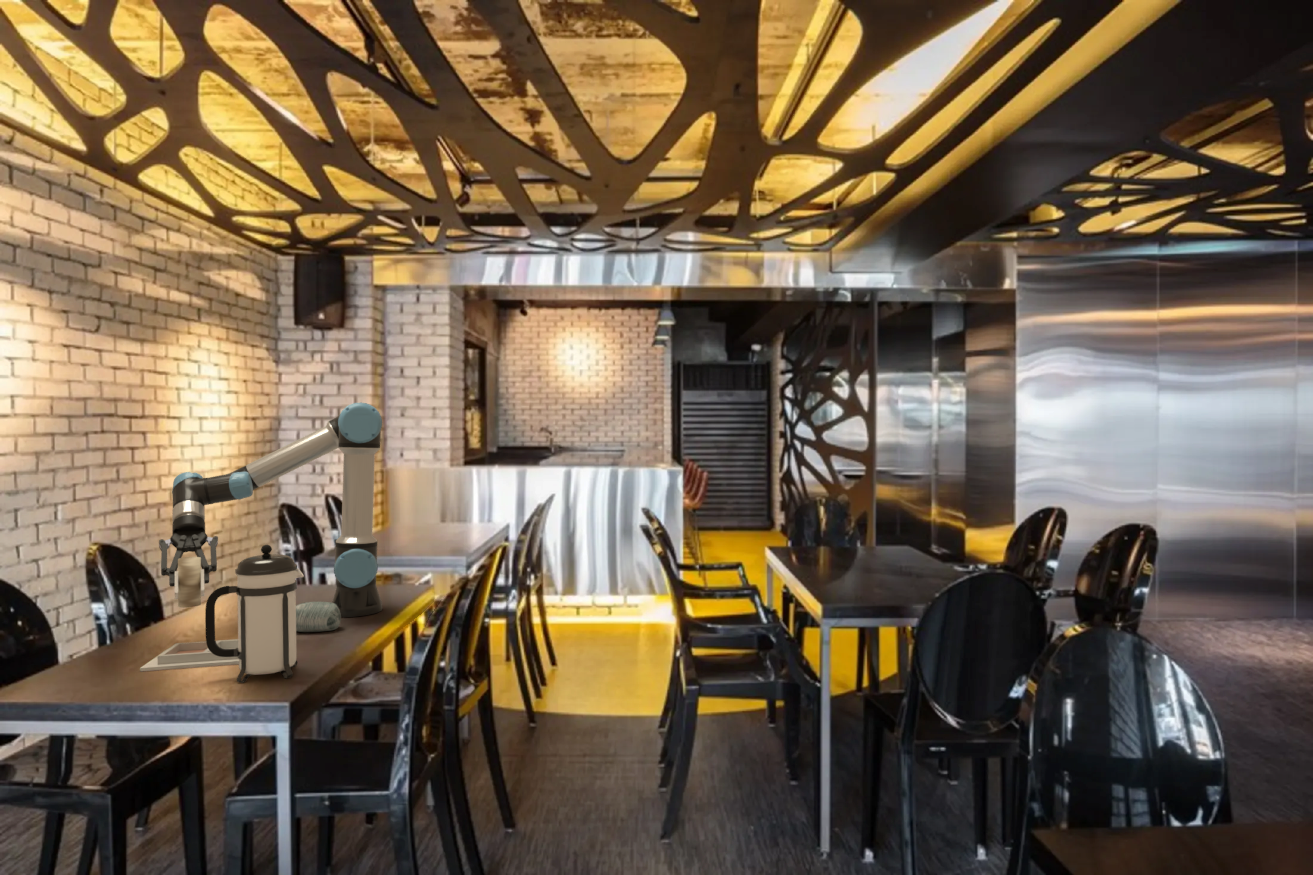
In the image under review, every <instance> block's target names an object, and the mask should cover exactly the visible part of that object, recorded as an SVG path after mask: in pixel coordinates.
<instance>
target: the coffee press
mask: <svg viewBox="0 0 1313 875" xmlns="http://www.w3.org/2000/svg"><path fill="white" fill-rule="evenodd" d="M260 551H261V553H262V554H260V555H259V554H258V555H253V556H249V557H246V558H244V559H242V560H241V561H240V562H239V563H238V565H237V567H236V569H234V570H235V571H234V573H235V575H236V577H237V580H236V581H237V585H225V586H221V587H218V588H217V589H215V590H213V591H212V592H211V594H210V595H209V596H208V598H207V600H206V604H205V611H204V612H205V613H204V614H205V615H204V617H205V618H204V619H205V620H204V621H205V622H204V624H205V641H206V643H207V647H208V649H209V650H210V652H212V653H213V654H214V655H216V656H220V657H237V658H238V659H239V664H238V668H239V670H240V671H239V674H238V675H237V677H236V682H237V683H241V684H245V683H246V682H247V680H248V679H249V678H250V677H252V676H255V675H269V674H275V673H280V675H282V677H283V679H285V680H287V679H289V678H292V677H293V671H292V669H291V668H293V667H294V668H296V667H297V665H298V662H299V661H298V660H297V631H296V605H297V601H296V600H297V598H296V596H297V593H296V591H297V584H298V583H297V580H296V579H298V578H304V574H303V572H302V571H301V570H300V568H298V564H297V563H295V560H294V559H293V557H291V556H289V555H287V554H275V553H274V554H271V552H272V551H273V548H272V546H271V545H269V544H265V545H263V546H261V549H260ZM229 594H235V595H237V639H238V648H236V649H222V648H220V647H219V646H218V645H217V644H216V641H217V640H216V613H215V612H216V611H215V610H216V609H215V607H216V603H217V600H218V599H219V598H220V597H221V596H224V595H229Z"/></svg>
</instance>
